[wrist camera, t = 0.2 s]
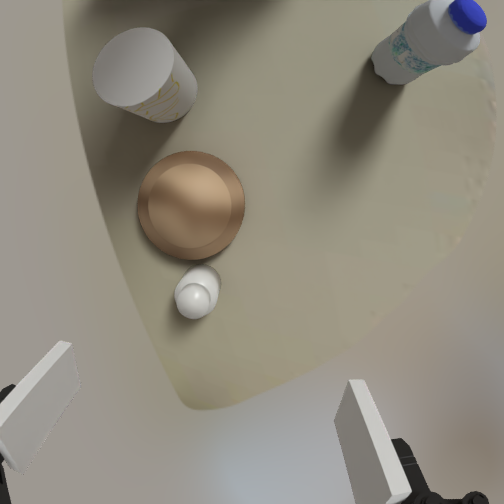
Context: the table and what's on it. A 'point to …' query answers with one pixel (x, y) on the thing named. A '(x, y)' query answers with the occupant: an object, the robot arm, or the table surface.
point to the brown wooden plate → (191, 205)
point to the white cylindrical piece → (145, 76)
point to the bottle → (429, 39)
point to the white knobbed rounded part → (198, 291)
